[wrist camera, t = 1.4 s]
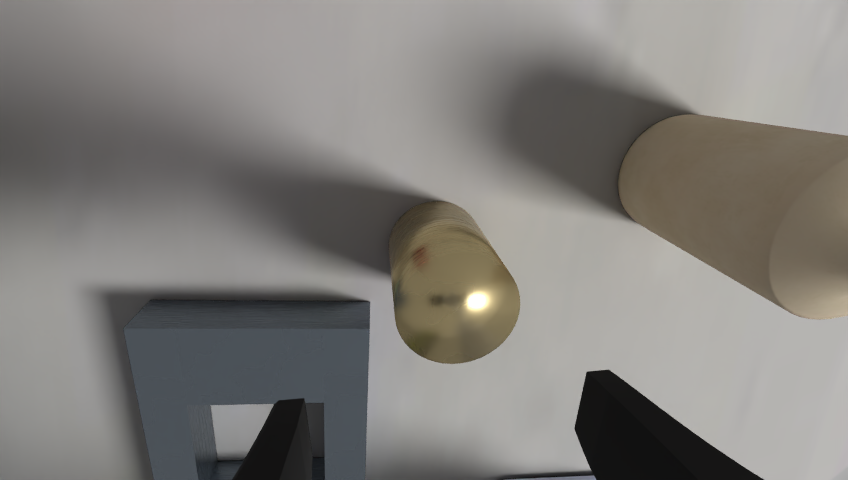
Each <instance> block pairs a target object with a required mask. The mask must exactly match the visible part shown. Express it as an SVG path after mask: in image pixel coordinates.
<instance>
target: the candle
mask: <svg viewBox="0 0 848 480" xmlns="http://www.w3.org/2000/svg"><path fill="white" fill-rule="evenodd" d="M618 190H619V196H620V200H621V203H622V205H623V207H624V209H625V210H626V212H627V213H628V214H629V215H630V216H631V217H632V218H633V219H634V220H635V221H636V222H637V223H639V224H640V225H642V226H643V227H645V228H647V229H648V230H650V231H652V232H653V233H655V234H657V235H658V236H660V237H662V238H663V239H665V240H667V241H669V242H670V243H672V244H674V245H675V246H677V247H679V248H681V249H682V250H684V251H686V252H687V253H689V254H691V255H692V256H694V257H696V258H698V259H699V260H701V261H703V262H704V263H706V264H708V265H710V266H711V267H713V268H715V269H716V270H718V271H720V272H722V273H723V274H725V275H727V276H728V277H730V278H732V279H734V280H735V281H737V282H739V283H740V284H742V285H744V286H745V287H747V288H749V289H751V290H752V291H754V292H756V293H757V294H759V295H761V296H763V297H764V298H766V299H768V300H769V301H771V302H773V303H775V304H776V305H778V306H780V307H781V308H783V309H785V310H787V311H788V312H790V313H792V314H794V315H797V316H799V317H803V318H808V319H832V318H837V317H843V316H848V136H845V135H838V134H831V133H824V132H817V131H810V130H803V129H796V128H789V127H782V126H775V125H767V124H760V123H753V122H746V121H739V120H732V119H725V118H718V117H711V116H703V115H694V114H692V115H679V116H673V117H670V118H666V119H664V120H662V121H659V122H658V123H656V124H654V125H652V126H651V127H650V128H648V129H647V130H646V131H645V132H643V133H642V134H641V135H640V136H639V137H638V138H637V139H636V141H635V142H634V143H633V144H632V146H631V147H630V149H629V150H628V152H627V154H626V156H625V158H624V160H623V162H622V165H621V169H620V172H619V178H618Z"/></svg>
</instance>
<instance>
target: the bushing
mask: <svg viewBox="0 0 848 480" xmlns="http://www.w3.org/2000/svg"><path fill="white" fill-rule="evenodd" d="M389 257H390V268H391V279H392V290H393V301H394V312H395V321H396V326H397V329H398V332H399V334H400V336H401V338H402V339H403V340H404V342H405V343H406V344H407V345H408V347H409V348H410V349H412V350H413V351H414V352H415V353H417V354H418V355H420V356H422V357H424V358H426V359H428V360H431V361H435V362H439V363H448V364H455V363H464V362H469V361H473V360H476V359H478V358H481V357H483V356H485V355H487V354H489V353H490V352H492V351H493V350H495V349H496V348H497V347H498V346H500V345H501V344H502V343H503V342H504V341H505V340H506V338H507V337H508V336H509V334H510V333H511V332H512V330H513V328H514V326H515V324H516V321H517V319H518V315H519V310H520V296H519V291H518V288H517V285H516V283H515V281H514V279H513V277H512V276H511V274H510V273H509V271H508V270H507V268H506V267H505V265H504V264H503V262H502V261H501V259H500V258H499V256H498V255H497V253H496V252H495V250H494V249H493V247H492V246H491V244H490V243H489V241H488V240H487V238H486V237H485V235H484V234H483V232H482V231H481V230H480V228H479V227H478V225H477V224H476V222H475V221H474V219H473V218H472V217H471V215H470V214H469V213H467V212H466V211H465V210H464V209H462V208H461V207H459V206H457V205H454V204H452V203H448V202H441V201H433V202H426V203H423V204H420V205H417V206H415V207H413V208H412V209H410V210H408V211H407V212H406V213H405V214H403V215H402V216H401V217H400V219H399V220H398V221H397V222H396V224H395V226H394V227H393V230H392V232H391V235H390V239H389Z"/></svg>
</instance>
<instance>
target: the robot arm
mask: <svg viewBox="0 0 848 480" xmlns="http://www.w3.org/2000/svg"><path fill="white" fill-rule="evenodd" d="M574 429H575V431H576V434H577V437H578V439H579V442H580V444H581V447H582V449H583V452H584V454H585V457H586V459H587V461H588V464H589V466H590V468H591V470H592V472H593V474H594V475H593V476H571V477H548V478H526V479H505V480H764V479H762V478H760V477H759V476H757V475H755V474H754V473H752V472H751V471H749V470H748V469H746V468H744V467H743V466H741V465H740V464H738V463H737V462H735V461H734V460H732V459H731V458H729V457H728V456H726V455H725V454H723V453H722V452H720V451H719V450H717V449H716V448H715V447H713V446H712V445H710V444H709V443H707V442H706V441H704V440H703V439H702V438H700V437H699V436H697V435H696V434H695V433H693V432H692V431H690V430H689V429H688V428H686V427H685V426H683V425H682V424H681V423H679V422H678V421H677V420H675V419H674V418H673V417H671V416H670V415H669V414H667V413H666V412H665V411H663V410H662V409H661V408H659V407H658V406H657V405H655V404H654V403H653V402H651V401H650V400H649V399H647V398H646V397H645V396H643V395H642V394H641V393H639V392H638V391H637V390H636V389H634V388H633V387H632V386H630V385H629V384H628V383H626V382H625V381H624V380H622V379H621V378H620V377H618V376H617V375H615V374H614V373H613V372H611V371H610V370H601V371H590V372H587V373H586V378H585V382H584V387H583V392H582V396H581V401H580V405H579V410H578V415H577V419H576V424H575V428H574ZM312 460H313V456H312V449H311V442H310V435H309V428H308V420H307V413H306V406H305V399H304V398H298V399H288V400H278V401H277V402H276V403H275V404H274V406H273V408H272V410H271V412H270V414H269V416H268V418H267V420H266V422H265V424H264V426H263V427H262V429H261V431H260V433H259V435H258V437H257V438H256V440H255V442H254V444H253V445H252V447H251V449H250V451H249V452H248V454H247V456H246V457H245V459H244V461H243V462H242V464H241V466H240V467H239V469H238V471H237V472H236V474H235V476H234V477H233V479H232V480H311V478H312Z"/></svg>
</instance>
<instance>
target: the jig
mask: <svg viewBox="0 0 848 480" xmlns="http://www.w3.org/2000/svg"><path fill="white" fill-rule="evenodd" d="M369 329H370V302H341V301H224V300H150V301H149V302H148V303H147V304H146V305H145V306H144V307H143V308H142V309H141V310H140V312H139V313H138V314H137V315H136V316H135V317H134V318H133V319H132V320H131V321H130V322H129V323H128V324H127V325H126V326H125V327H124V328H123V330H124V335H125V340H126V345H127V350H128V355H129V360H130V365H131V370H132V375H133V380H134V385H135V389H136V394H137V399H138V404H139V409H140V414H141V419H142V424H143V429H144V434H145V439H146V444H147V449H148V453H149V458H150V463H151V468H152V473H153V478H154V480H232V479H233V477H234V476H235V474H236V472H237V471H238V469H239V467H240V466H241V464H242V462H243V461H220V462H218V461H217V453H216V445H215V437H214V430H213V422H212V414H211V407H210V405H235V404H275V403H276V402H277V401H278V400H288V399H298V398H304V399H305V403H324V447H325V458H313V460H312V478H311V480H365V460H366V427H367V395H368V362H369Z"/></svg>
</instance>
